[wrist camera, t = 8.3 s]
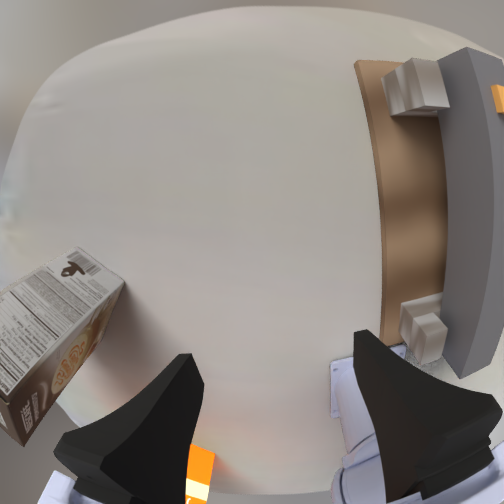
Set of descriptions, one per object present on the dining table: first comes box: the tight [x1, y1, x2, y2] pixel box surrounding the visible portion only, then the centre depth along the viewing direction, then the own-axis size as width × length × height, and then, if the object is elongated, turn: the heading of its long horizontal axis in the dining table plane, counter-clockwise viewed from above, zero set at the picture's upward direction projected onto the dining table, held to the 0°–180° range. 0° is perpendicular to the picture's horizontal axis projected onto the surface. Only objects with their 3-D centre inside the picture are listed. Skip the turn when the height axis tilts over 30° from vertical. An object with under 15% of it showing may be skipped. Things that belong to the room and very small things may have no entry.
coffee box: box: [0, 247, 124, 447], centre depth 15 cm, size 9×6×16 cm
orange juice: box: [186, 444, 215, 504], centre depth 22 cm, size 8×9×20 cm
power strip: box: [435, 47, 504, 379], centre depth 12 cm, size 22×4×6 cm, turn 11°
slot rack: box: [354, 58, 450, 366], centre depth 15 cm, size 24×12×6 cm, turn 11°
